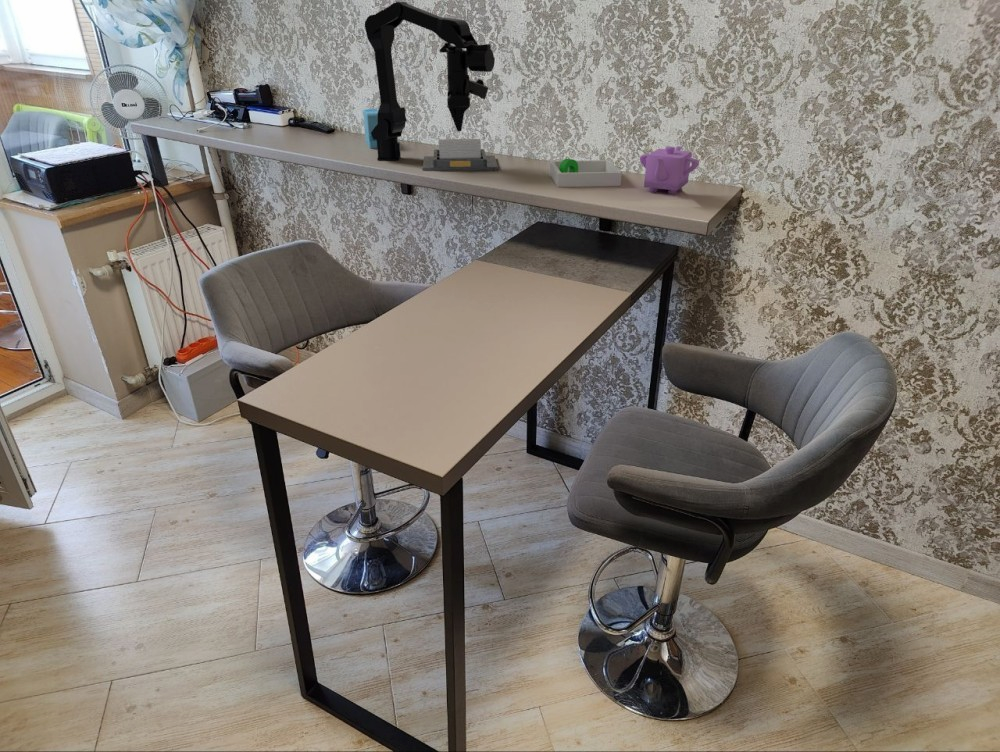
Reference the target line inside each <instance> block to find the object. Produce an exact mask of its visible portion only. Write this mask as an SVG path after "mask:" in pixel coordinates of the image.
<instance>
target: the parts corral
mask: <svg viewBox="0 0 1000 752" xmlns="http://www.w3.org/2000/svg"><path fill="white" fill-rule="evenodd" d="M562 161H563V160H549V169H548V172H549V175H550V177H551V178H552V180H553V183H555V185H556V187H557V188H571V187H573V188H576V187H577V188H579V187H581V188H583V187H584V188H585V187H587V188H588V187H589V188H590V187H621V185H622V175H623V174H622V172H621V170H619V168H618V167H616V166H615V165H614V164H613V163H612V162H611V161H610V160H608V159H595V160H593V159H592V160H591V159H590V160H585V159H584V160H580V159H579V160H575V161H576V162H577V164H578V173H569V170H570V168H568V173H561V172H560V170H559V166H560V164H561V162H562Z"/></svg>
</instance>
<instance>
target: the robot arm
mask: <svg viewBox="0 0 1000 752" xmlns="http://www.w3.org/2000/svg"><path fill="white" fill-rule="evenodd" d="M403 21H406V22H408V23H410V24H413V25H416V26H418V27H421V28H423V29H426V30H428V31H431V32H433V33H434V34H435V35H436V36H437V37H439V39H441V40H443V41H444V42H445V43H444V44H443V46H442V47H441V48H440V49H439V51H438V52H439V53H446V68H447V70H446V71H447V72H446V73H447V98H446V99H447V100H446V101H447V108H448V110H449V114H450V116H451V117H452V121H453V123H454V126H455V128H456V131H457V132H461V131H462V128H463V122H464V116H465V112H467V110H469V108H470V107H471V98H470V94H471V95H473V96H477V97H479V98H480V99H482V100H486V97H487V94H488V91H489V86H488V85H485V83H484V80H483V79H480V78H478V79H477V80H476V81H474V80H471V79H470V74H469V71H470V72H482V73H483V72H484V73H490V72H492V71H493V70H494V67H495V63H496V61H495V55H494V52H493V50H492V47H491V45H492V44H490V43H487V44H485V43H483V44H478V41H477V40H476V38H475V37H474V36H473V34H472V31H471V27H470V25H469V23H468V22H467V21H466V20H463V19H457V18H451V17H442V16H439V15H437V14H435V13H432V12H429V11H426V10H425V9H422V8H420V7H416V6H414V5H411V4H409V3H408V2H406V1H394V2H393V3H391V4H390V5H389V6H388V7H386V8H384V9H382V10H380V11H378V12H376V13H375V14H370V15H369V16H368V17H366V19H365V21H364V28H365V34H366V37H367V41H368V42H369V44H370V45H371V47H372V48H373V52H374V53H373V54H374V60H375V67H376V77H377V84H378V92H379V98H380V99H379V100H380V105H379V108H378V109H377V110H378V120H377V125H376V126H375V128H374V129H373V130H372V132H371V135H372V138H373V140H377V148H376V149H377V160H376V161H399V159H400V158H401V154H402V153H401V142H399V138H401V137H402V135H403V134H402V133H403V130H404V128H406V122H408V120H407V117H406V116H407V115H406V108H405V106H403V107H401V105H400V103H398V99H397V91H396V79H395V71H394V63H393V55H392V48H393V43H394V41H395V29H396V28H398V27H399V26H400V25H401V24H402V23H403ZM468 70H469V71H468Z"/></svg>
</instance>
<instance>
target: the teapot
mask: <svg viewBox="0 0 1000 752" xmlns="http://www.w3.org/2000/svg"><path fill="white" fill-rule="evenodd" d="M692 153H693V152H692V151H691V150H690V151H688V150H682V146H681V145H679V146H676V147H675V146H665V147H664V148H658V149H656V150H654V151H652V152H650V153H644V154H641V155H640V157H639V161H640V163H641V165H642V166H643V168H645V169H644V170H645V174H644V182H643V187H644V188H648V192H651V193H656V192H658V190H668V191H667V192H668V194H669V195H678V191H682V190H683V187H684V186H686V185H687V184H688V183H689V176H690V173H692V172H693V171H695V170H696V169H697V168H698V167H699V165H700V161H699V160H698V159H697V158H694V157H692Z"/></svg>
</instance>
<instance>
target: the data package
mask: <svg viewBox="0 0 1000 752" xmlns="http://www.w3.org/2000/svg"><path fill="white" fill-rule="evenodd" d="M378 110H379V109H377V108H372V109H370V108H368V109H367V108H366V109H363V111H362V116H363V126H364V138H365V143H366V145H367V146H368V148H369V149H370V150H372V149H377V140H373V138H372V135H371V132H372V130H373V129H374V128H375V126H376V125H377V120H378Z"/></svg>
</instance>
